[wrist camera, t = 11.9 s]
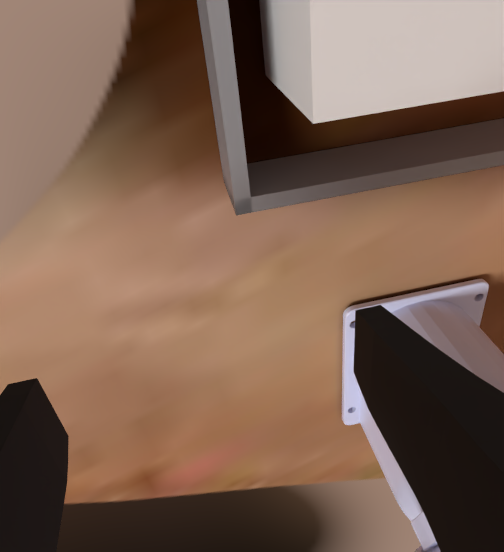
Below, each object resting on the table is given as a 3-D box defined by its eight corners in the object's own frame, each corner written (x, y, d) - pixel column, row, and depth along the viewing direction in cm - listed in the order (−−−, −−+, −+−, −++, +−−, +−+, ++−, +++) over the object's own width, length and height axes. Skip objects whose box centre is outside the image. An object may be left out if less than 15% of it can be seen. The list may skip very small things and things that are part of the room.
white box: (417, 50, 18) (519, 88, 13) (264, 74, 18) (313, 123, 13) (431, -99, 16) (564, -119, 11) (252, -76, 15) (307, -87, 10)
